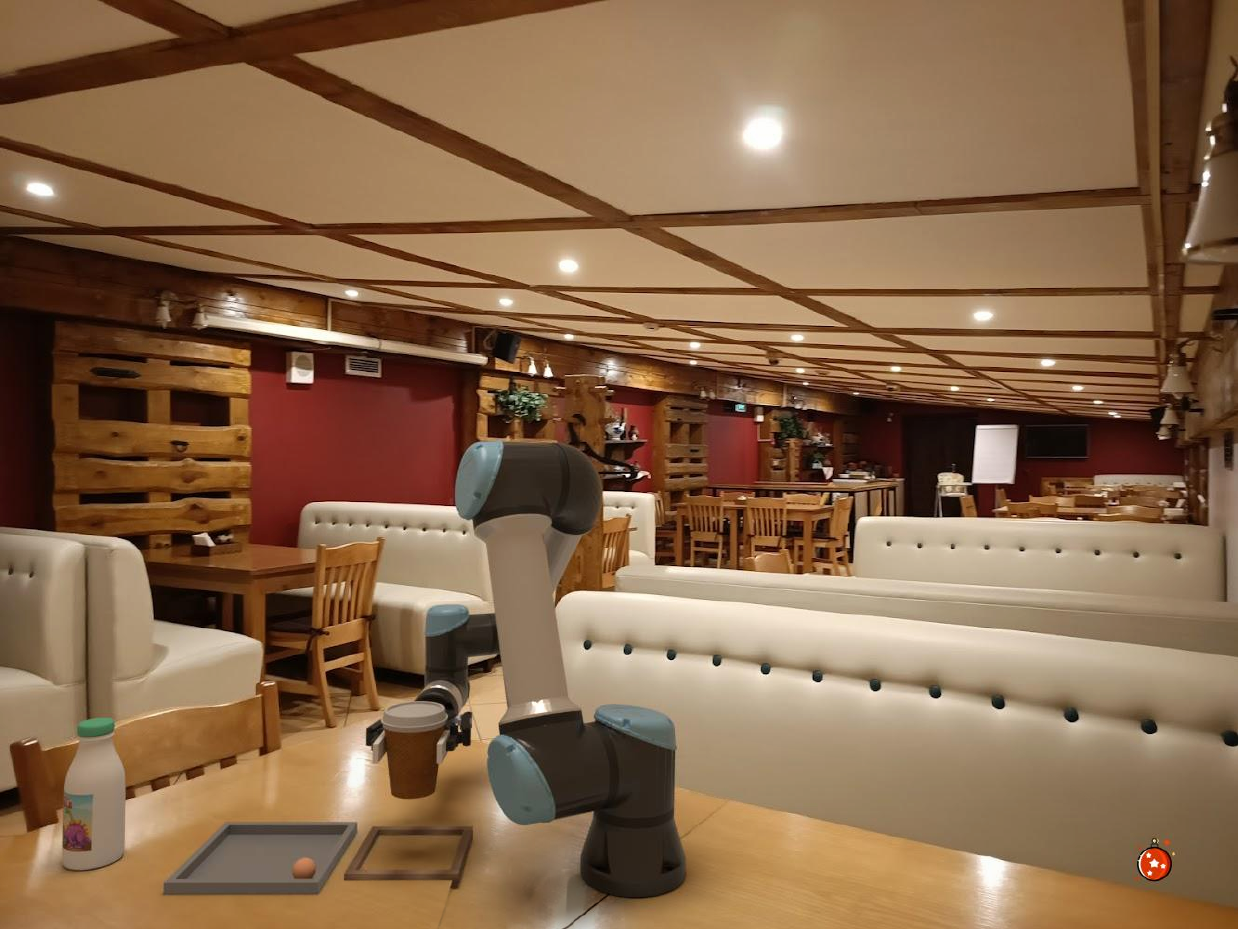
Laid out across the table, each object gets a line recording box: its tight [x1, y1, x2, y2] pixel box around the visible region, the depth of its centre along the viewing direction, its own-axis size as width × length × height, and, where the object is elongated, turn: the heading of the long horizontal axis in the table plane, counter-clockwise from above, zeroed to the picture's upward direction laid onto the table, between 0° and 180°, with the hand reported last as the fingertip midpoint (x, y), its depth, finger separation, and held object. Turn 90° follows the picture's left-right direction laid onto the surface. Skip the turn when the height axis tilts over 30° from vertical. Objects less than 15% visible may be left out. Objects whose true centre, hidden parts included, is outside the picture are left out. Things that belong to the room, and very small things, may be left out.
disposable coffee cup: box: [380, 700, 448, 800], centre depth 124 cm, size 10×10×12 cm
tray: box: [163, 821, 358, 896], centre depth 121 cm, size 20×19×3 cm
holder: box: [343, 825, 474, 890], centre depth 124 cm, size 15×15×2 cm
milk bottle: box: [61, 717, 126, 871], centre depth 123 cm, size 8×8×20 cm
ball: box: [292, 858, 316, 879], centre depth 116 cm, size 3×3×3 cm
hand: (407, 754), depth 119 cm, fingers closed on disposable coffee cup, 8 cm apart
